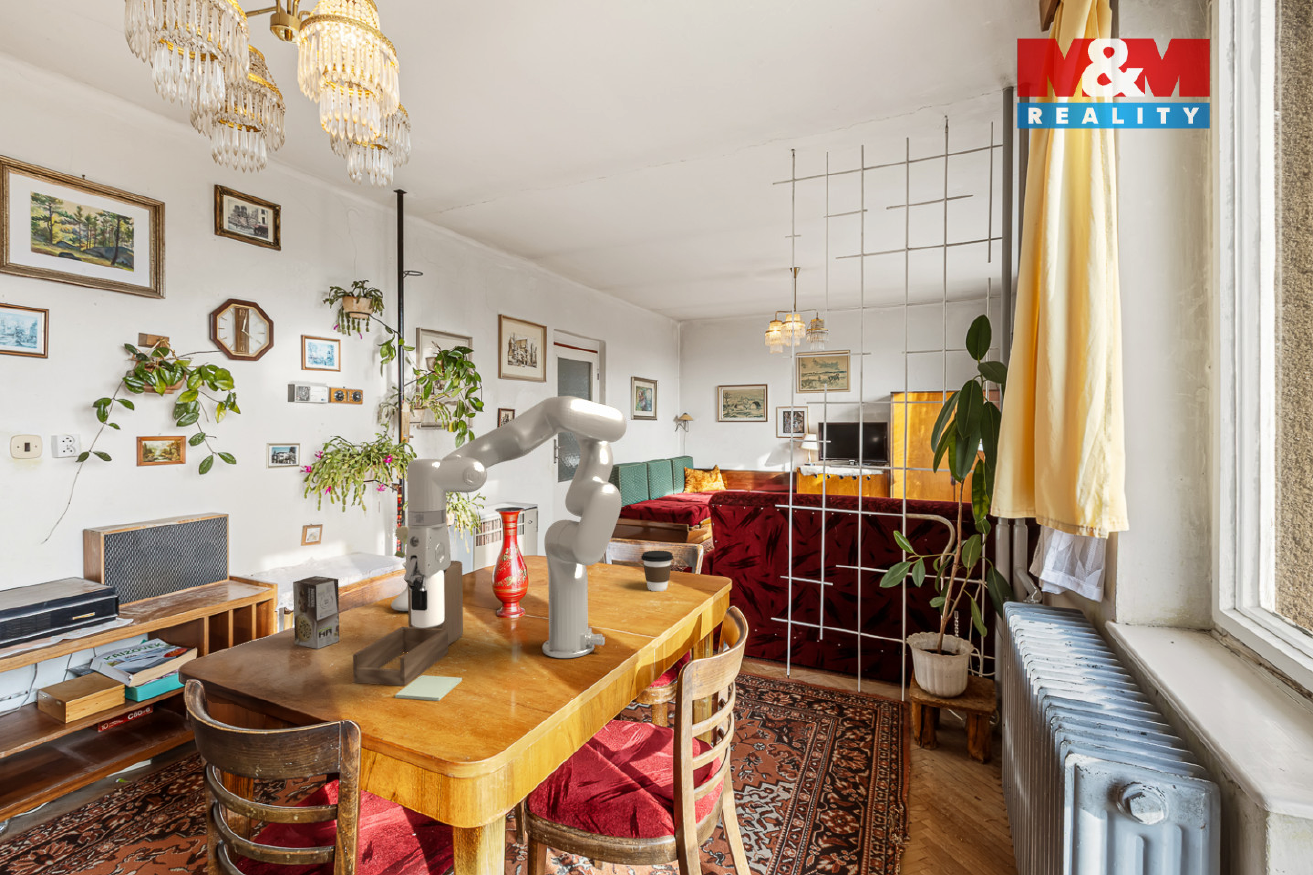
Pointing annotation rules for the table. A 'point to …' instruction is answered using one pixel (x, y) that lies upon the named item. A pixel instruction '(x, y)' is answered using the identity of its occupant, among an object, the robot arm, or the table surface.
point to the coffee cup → (657, 569)
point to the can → (431, 603)
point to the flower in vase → (402, 601)
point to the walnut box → (421, 655)
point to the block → (449, 602)
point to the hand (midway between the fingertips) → (428, 604)
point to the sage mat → (428, 688)
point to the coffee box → (316, 611)
